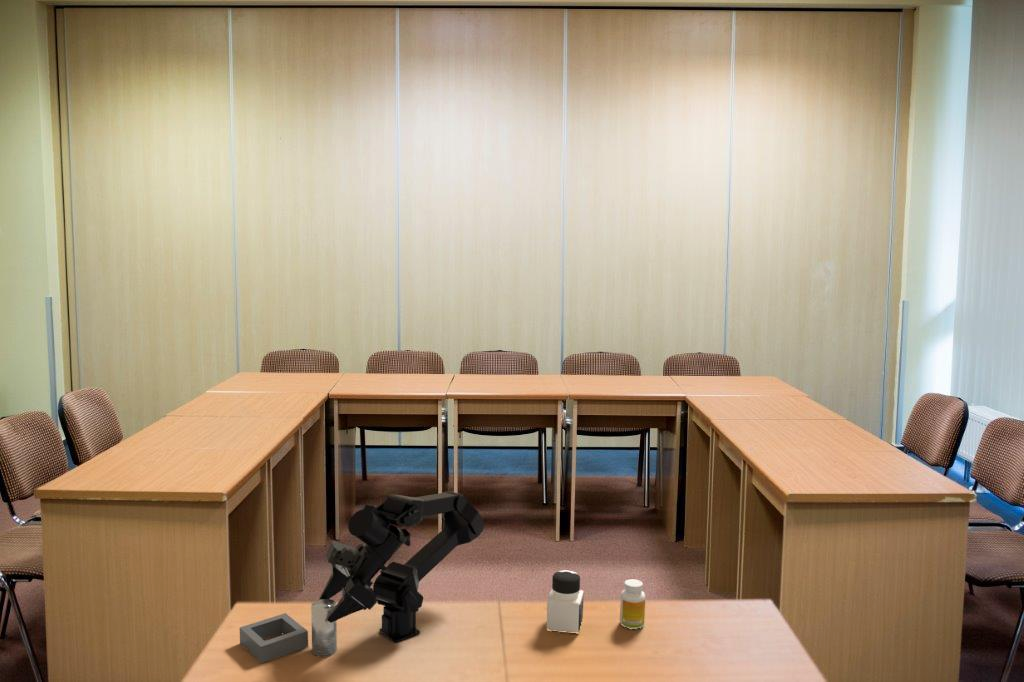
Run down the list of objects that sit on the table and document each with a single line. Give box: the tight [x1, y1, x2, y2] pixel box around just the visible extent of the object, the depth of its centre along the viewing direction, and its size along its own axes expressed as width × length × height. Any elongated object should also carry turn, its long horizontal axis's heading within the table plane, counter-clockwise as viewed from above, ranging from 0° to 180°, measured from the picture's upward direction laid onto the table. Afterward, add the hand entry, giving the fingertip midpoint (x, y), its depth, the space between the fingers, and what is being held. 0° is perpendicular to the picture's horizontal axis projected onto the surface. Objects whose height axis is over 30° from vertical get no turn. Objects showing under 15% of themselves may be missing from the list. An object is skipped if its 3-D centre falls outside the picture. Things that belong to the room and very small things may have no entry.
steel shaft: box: [310, 598, 338, 658], centre depth 169 cm, size 5×5×10 cm
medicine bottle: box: [546, 569, 585, 633], centre depth 181 cm, size 7×7×12 cm
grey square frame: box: [239, 612, 309, 664], centre depth 171 cm, size 10×10×4 cm
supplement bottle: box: [619, 578, 646, 629], centre depth 183 cm, size 5×5×10 cm
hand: (324, 610), depth 168 cm, fingers open, 9 cm apart
